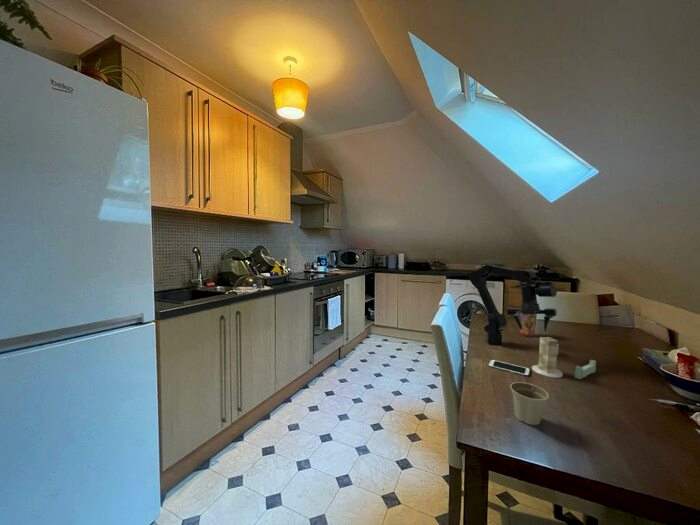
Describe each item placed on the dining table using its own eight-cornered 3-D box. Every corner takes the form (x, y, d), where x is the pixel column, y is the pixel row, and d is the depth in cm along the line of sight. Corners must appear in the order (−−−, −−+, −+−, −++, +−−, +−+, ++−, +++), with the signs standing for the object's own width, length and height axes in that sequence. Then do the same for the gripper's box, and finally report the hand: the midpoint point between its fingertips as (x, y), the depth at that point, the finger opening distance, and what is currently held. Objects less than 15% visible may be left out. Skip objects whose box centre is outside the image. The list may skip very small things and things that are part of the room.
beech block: (538, 368, 109) (540, 337, 108) (547, 367, 109) (548, 337, 109) (546, 373, 105) (548, 340, 104) (555, 372, 105) (557, 340, 105)
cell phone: (490, 361, 118) (490, 358, 118) (530, 370, 109) (530, 368, 109) (487, 367, 112) (487, 365, 112) (529, 378, 103) (529, 375, 103)
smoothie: (514, 333, 155) (516, 299, 154) (528, 332, 156) (529, 299, 155) (525, 338, 147) (527, 302, 146) (539, 337, 148) (541, 302, 146)
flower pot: (555, 426, 75) (557, 396, 74) (530, 432, 72) (531, 402, 71) (525, 406, 84) (526, 380, 83) (501, 411, 81) (502, 384, 80)
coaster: (540, 376, 103) (540, 375, 103) (527, 365, 113) (527, 364, 113) (568, 378, 102) (568, 377, 101) (552, 367, 111) (552, 365, 111)
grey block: (550, 355, 124) (551, 344, 124) (543, 351, 128) (543, 341, 127) (558, 354, 124) (558, 344, 124) (550, 351, 128) (551, 341, 128)
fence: (575, 377, 103) (575, 366, 102) (590, 370, 109) (591, 359, 109) (579, 379, 101) (580, 368, 101) (595, 371, 108) (596, 361, 107)
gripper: (502, 298, 124) (506, 332, 123) (551, 298, 111) (556, 335, 110) (508, 296, 132) (511, 328, 131) (554, 295, 119) (559, 330, 118)
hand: (533, 330), depth 122 cm, fingers open, 9 cm apart
